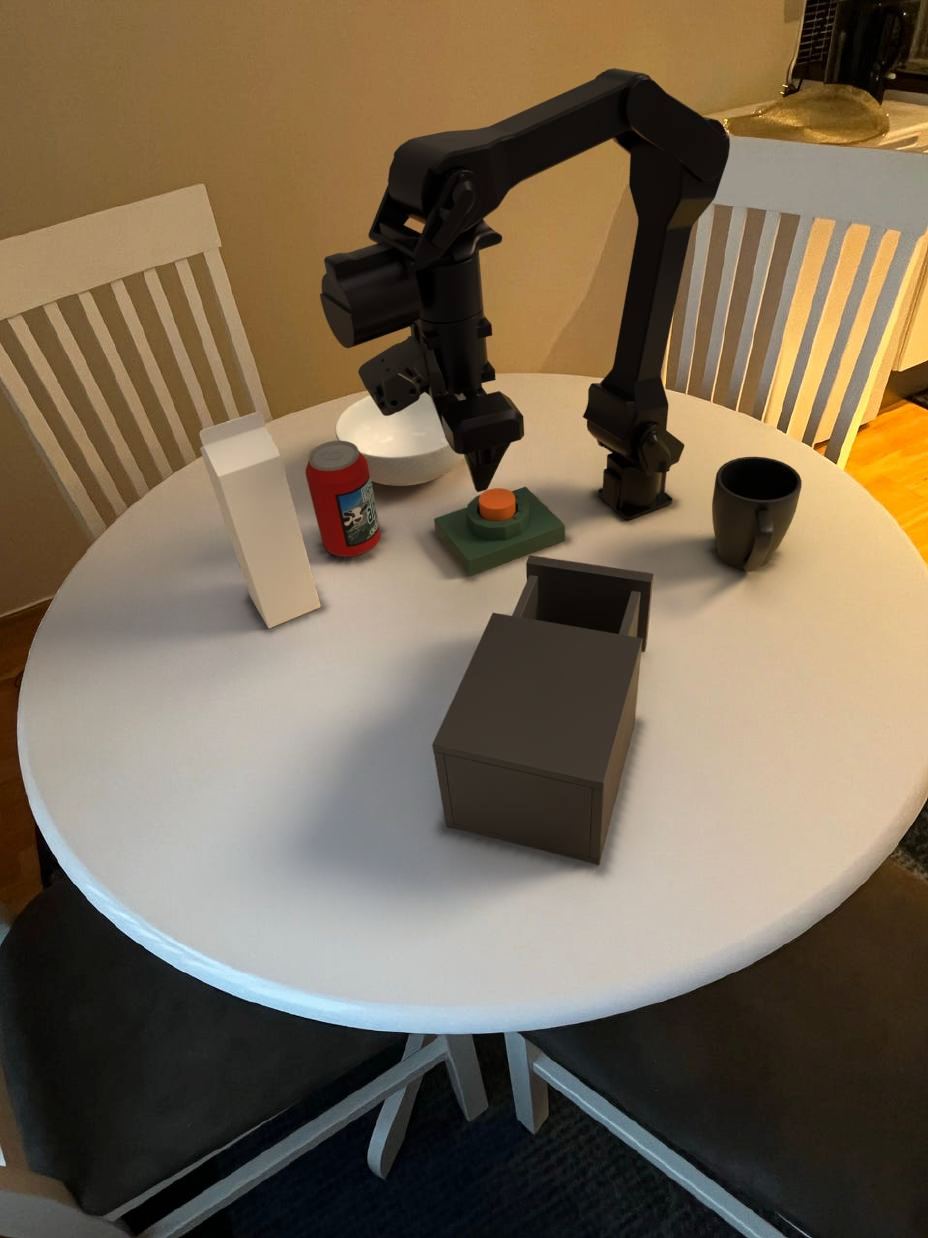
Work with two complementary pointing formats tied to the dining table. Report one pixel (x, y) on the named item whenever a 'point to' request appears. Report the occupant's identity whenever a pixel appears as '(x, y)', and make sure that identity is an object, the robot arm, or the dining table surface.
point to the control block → (498, 533)
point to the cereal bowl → (398, 441)
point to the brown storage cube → (540, 735)
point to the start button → (497, 504)
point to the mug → (753, 509)
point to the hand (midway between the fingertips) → (466, 465)
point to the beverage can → (343, 498)
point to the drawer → (587, 596)
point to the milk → (260, 517)
